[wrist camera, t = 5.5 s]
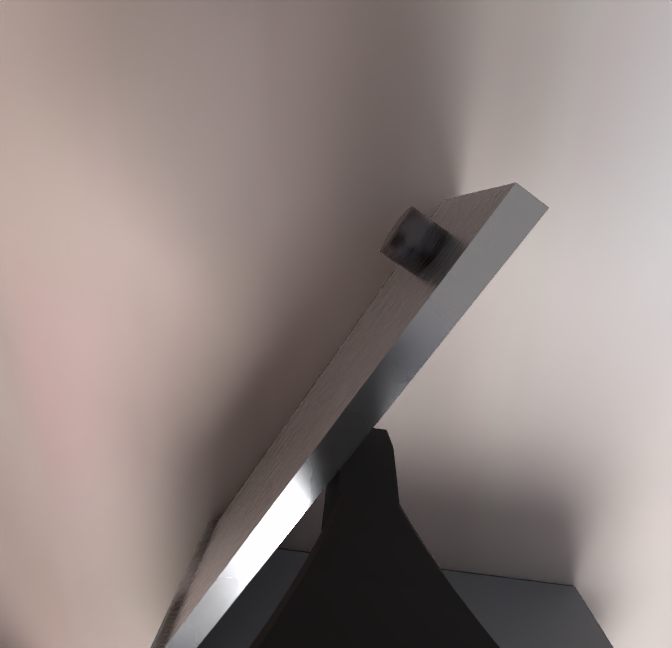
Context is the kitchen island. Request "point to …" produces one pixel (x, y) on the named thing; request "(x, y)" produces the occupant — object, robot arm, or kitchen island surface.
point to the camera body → (476, 591)
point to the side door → (353, 391)
